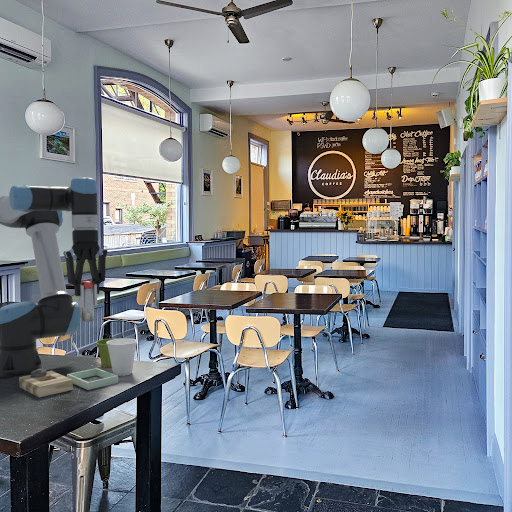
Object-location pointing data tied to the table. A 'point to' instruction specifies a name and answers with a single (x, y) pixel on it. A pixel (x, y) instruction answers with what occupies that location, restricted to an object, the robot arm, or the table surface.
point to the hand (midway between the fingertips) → (87, 305)
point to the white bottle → (88, 302)
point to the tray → (107, 380)
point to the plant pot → (104, 352)
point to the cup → (122, 355)
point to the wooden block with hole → (45, 383)
